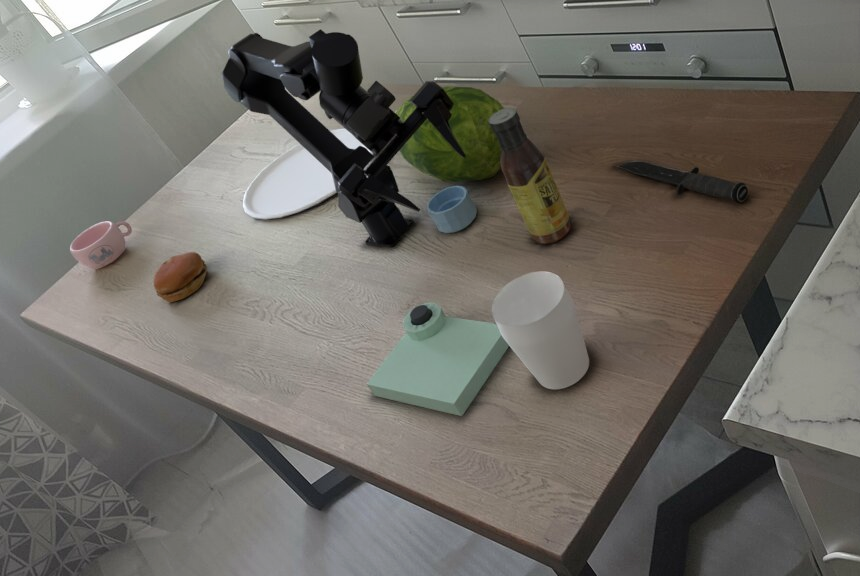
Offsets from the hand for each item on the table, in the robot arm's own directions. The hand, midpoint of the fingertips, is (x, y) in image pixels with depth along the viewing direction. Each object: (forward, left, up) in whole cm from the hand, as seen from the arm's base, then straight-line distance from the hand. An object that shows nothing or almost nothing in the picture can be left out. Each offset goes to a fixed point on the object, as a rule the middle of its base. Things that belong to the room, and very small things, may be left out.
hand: (441, 183), depth 110 cm
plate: (-60, +22, -17) cm, 66 cm away
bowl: (-14, +11, -17) cm, 25 cm away
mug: (-96, -5, -17) cm, 97 cm away
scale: (+3, -17, -17) cm, 24 cm away
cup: (+20, -14, -17) cm, 30 cm away
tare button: (-2, -12, -13) cm, 18 cm away
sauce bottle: (+5, +10, -17) cm, 21 cm away
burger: (-64, -10, -17) cm, 67 cm away
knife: (+20, +22, -17) cm, 34 cm away
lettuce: (-22, +24, -17) cm, 37 cm away
